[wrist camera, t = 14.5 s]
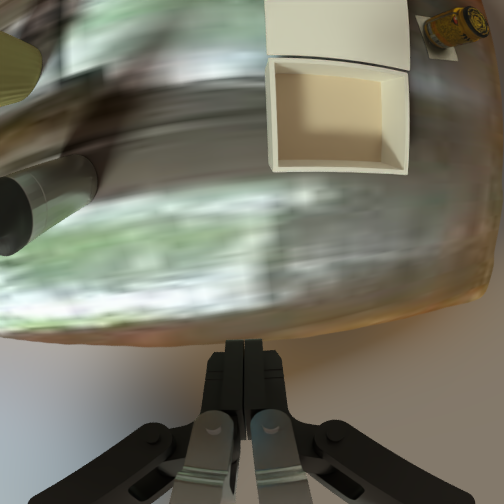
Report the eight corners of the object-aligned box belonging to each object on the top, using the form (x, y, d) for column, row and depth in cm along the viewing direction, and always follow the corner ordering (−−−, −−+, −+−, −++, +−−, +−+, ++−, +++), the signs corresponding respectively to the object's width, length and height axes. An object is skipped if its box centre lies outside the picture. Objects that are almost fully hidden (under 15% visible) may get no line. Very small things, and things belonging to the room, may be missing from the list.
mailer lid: (404, -21, 19) (401, -20, 19) (261, -44, 19) (261, -42, 19) (409, 70, 27) (407, 70, 27) (267, 54, 27) (266, 55, 27)
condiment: (444, 20, 28) (484, 6, 17) (457, 61, 31) (501, 55, 20) (414, 15, 28) (453, -4, 18) (428, 58, 32) (473, 49, 21)
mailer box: (382, 165, 40) (407, 174, 33) (268, 163, 40) (273, 172, 33) (382, 79, 34) (407, 72, 27) (264, 70, 34) (268, 57, 27)
